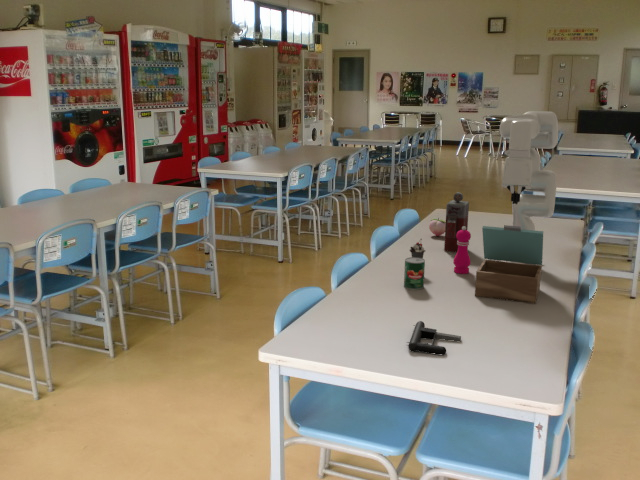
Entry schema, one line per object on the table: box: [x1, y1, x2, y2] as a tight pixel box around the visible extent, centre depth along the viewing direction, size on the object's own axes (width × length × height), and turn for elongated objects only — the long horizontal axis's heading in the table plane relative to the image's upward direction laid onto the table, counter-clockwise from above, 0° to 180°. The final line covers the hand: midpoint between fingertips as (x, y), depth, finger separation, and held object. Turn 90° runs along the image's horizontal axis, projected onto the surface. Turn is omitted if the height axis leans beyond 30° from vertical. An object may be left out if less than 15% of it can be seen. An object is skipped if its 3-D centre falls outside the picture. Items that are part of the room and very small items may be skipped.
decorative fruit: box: [428, 217, 446, 237], centre depth 335 cm, size 9×8×10 cm
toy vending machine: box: [443, 191, 470, 253], centre depth 305 cm, size 9×11×28 cm
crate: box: [474, 258, 543, 305], centre depth 247 cm, size 18×22×10 cm
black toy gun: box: [406, 320, 462, 355], centre depth 201 cm, size 3×20×16 cm
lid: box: [481, 224, 544, 266], centre depth 247 cm, size 20×22×1 cm
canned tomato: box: [403, 256, 426, 291], centre depth 254 cm, size 8×8×11 cm
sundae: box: [409, 238, 426, 259], centre depth 270 cm, size 7×7×15 cm
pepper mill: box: [453, 226, 472, 275], centre depth 272 cm, size 7×7×20 cm
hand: (515, 203), depth 240 cm, fingers closed
